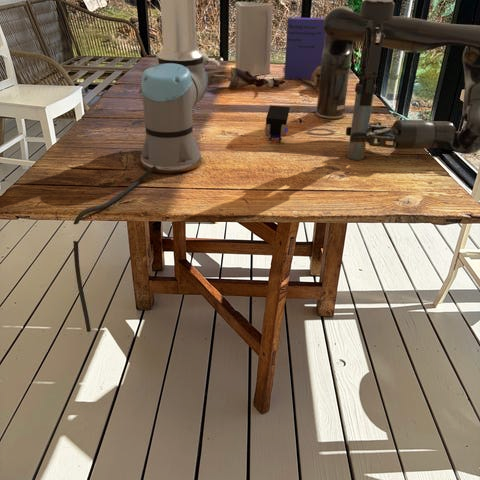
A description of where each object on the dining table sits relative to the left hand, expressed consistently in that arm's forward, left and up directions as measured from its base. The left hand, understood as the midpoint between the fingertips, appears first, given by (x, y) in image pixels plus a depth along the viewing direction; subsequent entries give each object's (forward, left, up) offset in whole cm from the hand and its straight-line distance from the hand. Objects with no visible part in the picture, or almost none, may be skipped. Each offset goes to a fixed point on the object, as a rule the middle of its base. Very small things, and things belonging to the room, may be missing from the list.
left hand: (363, 102), depth 121 cm
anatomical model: (+73, +13, -15) cm, 75 cm away
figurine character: (+11, +23, -15) cm, 30 cm away
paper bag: (+97, +45, -15) cm, 108 cm away
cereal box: (+91, +21, -15) cm, 94 cm away
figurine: (+68, +42, -15) cm, 81 cm away
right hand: (-1, +3, -8) cm, 9 cm away
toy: (+100, +76, -15) cm, 126 cm away
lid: (0, 0, +4) cm, 4 cm away
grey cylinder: (0, 0, -15) cm, 15 cm away
